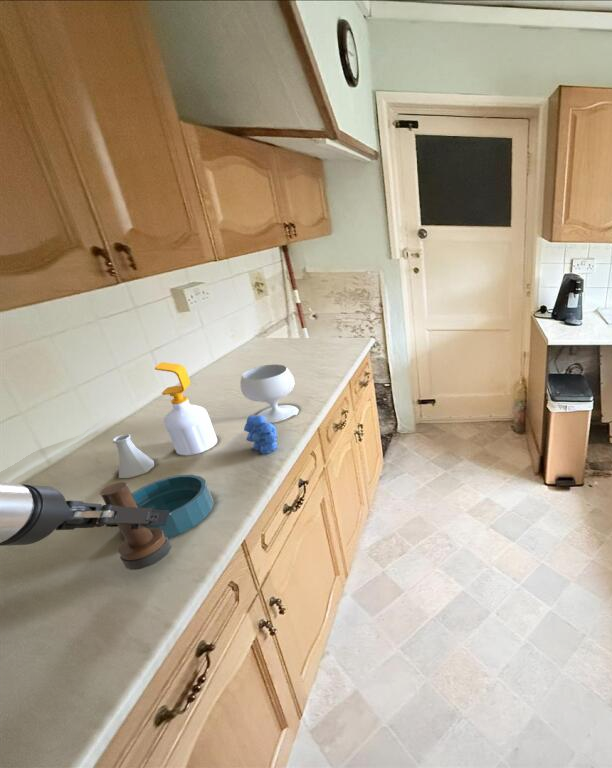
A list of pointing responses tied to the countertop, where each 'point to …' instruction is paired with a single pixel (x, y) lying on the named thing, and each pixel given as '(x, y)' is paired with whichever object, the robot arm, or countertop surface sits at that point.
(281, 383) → the chalice
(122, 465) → the flask
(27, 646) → the countertop surface
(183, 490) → the bowl
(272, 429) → the grapes
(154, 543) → the dish brush
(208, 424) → the soap bottle
